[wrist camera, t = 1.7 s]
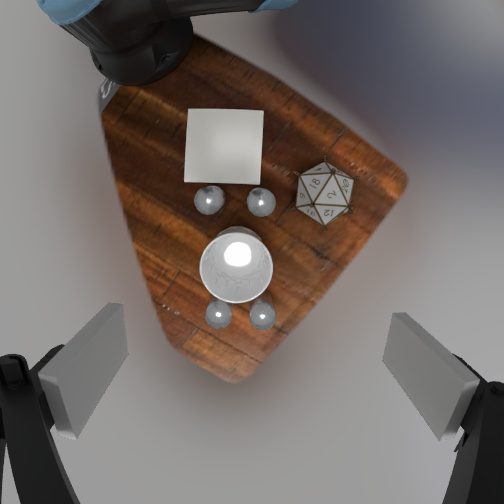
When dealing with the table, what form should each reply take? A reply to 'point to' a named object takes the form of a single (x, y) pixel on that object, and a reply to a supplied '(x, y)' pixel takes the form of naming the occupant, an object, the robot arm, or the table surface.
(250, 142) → the coaster
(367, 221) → the table surface
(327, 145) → the table surface
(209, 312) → the spacer posts
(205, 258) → the white cup
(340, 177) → the game die
